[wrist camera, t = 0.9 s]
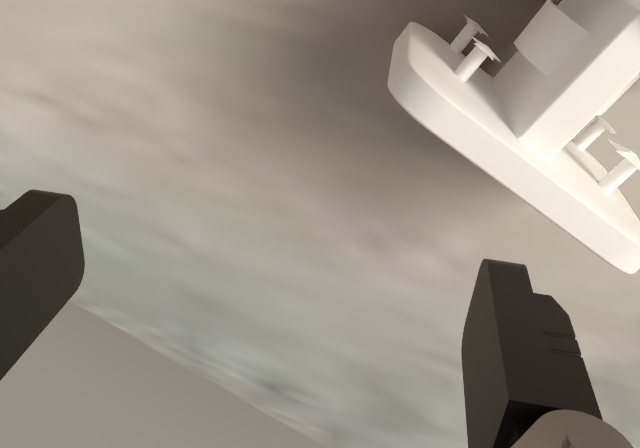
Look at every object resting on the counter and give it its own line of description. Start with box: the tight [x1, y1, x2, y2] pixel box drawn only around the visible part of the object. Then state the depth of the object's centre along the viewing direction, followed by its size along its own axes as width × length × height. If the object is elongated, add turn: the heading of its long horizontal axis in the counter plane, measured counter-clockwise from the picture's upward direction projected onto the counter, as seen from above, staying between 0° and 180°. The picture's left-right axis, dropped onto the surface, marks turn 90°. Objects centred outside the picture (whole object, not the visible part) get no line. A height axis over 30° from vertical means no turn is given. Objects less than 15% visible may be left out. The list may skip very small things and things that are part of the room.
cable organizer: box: [387, 0, 640, 274], centre depth 27 cm, size 15×11×12 cm
